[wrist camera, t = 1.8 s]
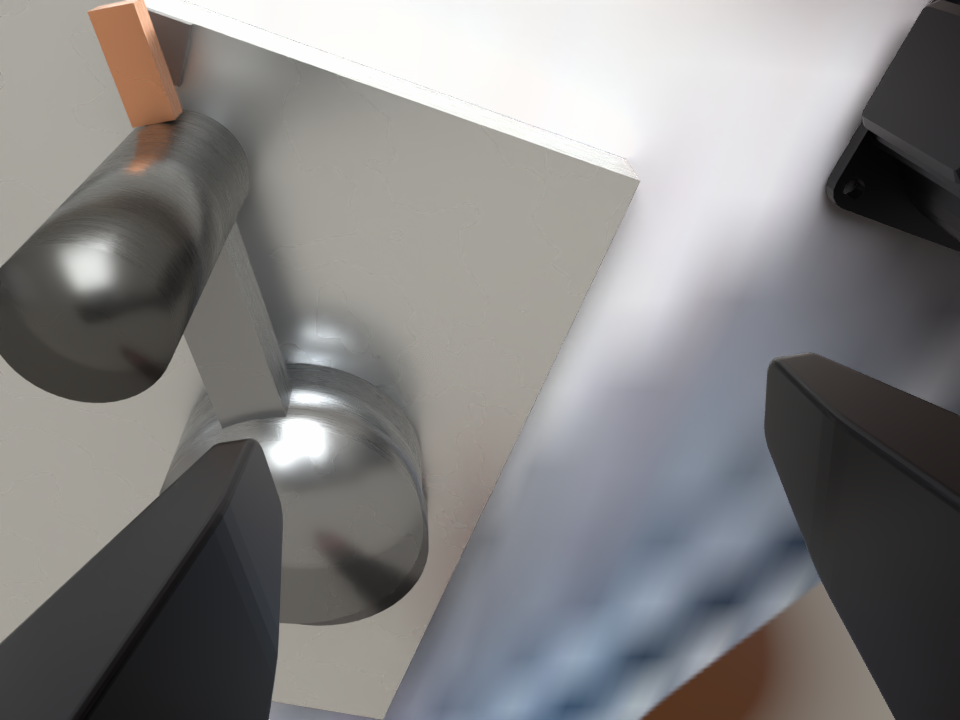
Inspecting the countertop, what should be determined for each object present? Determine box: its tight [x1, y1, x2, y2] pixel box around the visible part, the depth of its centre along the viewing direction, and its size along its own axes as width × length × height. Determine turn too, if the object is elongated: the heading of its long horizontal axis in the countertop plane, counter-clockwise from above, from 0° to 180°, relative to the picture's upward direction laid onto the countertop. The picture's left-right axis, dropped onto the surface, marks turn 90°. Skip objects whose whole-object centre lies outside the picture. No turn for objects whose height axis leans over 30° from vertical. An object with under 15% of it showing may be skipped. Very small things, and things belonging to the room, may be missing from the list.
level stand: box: [0, 0, 640, 720], centre depth 21 cm, size 18×19×2 cm
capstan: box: [0, 0, 429, 626], centre depth 17 cm, size 16×6×7 cm, turn 10°
